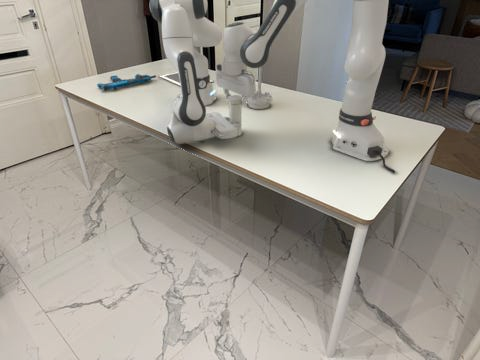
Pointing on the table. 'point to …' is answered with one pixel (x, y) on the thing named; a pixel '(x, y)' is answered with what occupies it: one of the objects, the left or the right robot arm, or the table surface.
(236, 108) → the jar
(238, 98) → the lid
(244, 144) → the table surface
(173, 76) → the tablet
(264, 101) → the flag stand
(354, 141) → the right robot arm
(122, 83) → the submachine gun
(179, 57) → the left robot arm
